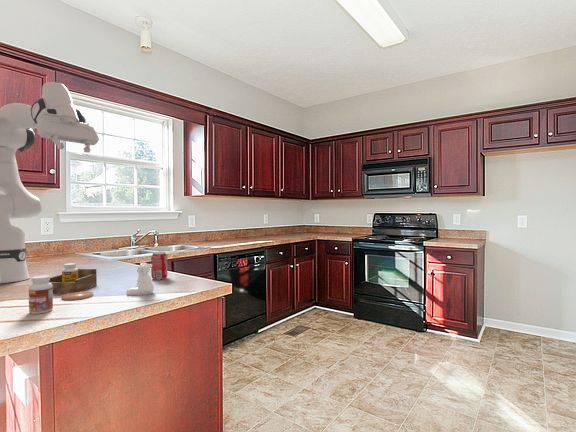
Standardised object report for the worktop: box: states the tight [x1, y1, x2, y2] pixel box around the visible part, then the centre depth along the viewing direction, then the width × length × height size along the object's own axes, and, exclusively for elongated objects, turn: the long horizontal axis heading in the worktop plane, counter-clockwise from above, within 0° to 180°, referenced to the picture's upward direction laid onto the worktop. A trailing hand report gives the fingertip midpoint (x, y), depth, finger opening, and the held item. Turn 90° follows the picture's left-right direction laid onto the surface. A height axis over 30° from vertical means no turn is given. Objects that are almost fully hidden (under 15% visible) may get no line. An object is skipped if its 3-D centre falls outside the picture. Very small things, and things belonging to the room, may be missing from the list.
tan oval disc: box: [61, 290, 94, 301], centre depth 128 cm, size 10×10×1 cm
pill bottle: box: [28, 275, 54, 315], centre depth 110 cm, size 6×6×11 cm
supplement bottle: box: [61, 262, 79, 282], centre depth 141 cm, size 6×6×10 cm
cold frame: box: [49, 268, 98, 294], centre depth 141 cm, size 14×14×7 cm
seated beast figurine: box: [125, 262, 155, 296], centre depth 133 cm, size 10×9×12 cm
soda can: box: [150, 251, 168, 281], centre depth 161 cm, size 7×7×12 cm
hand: (74, 149), depth 128 cm, fingers open, 8 cm apart
